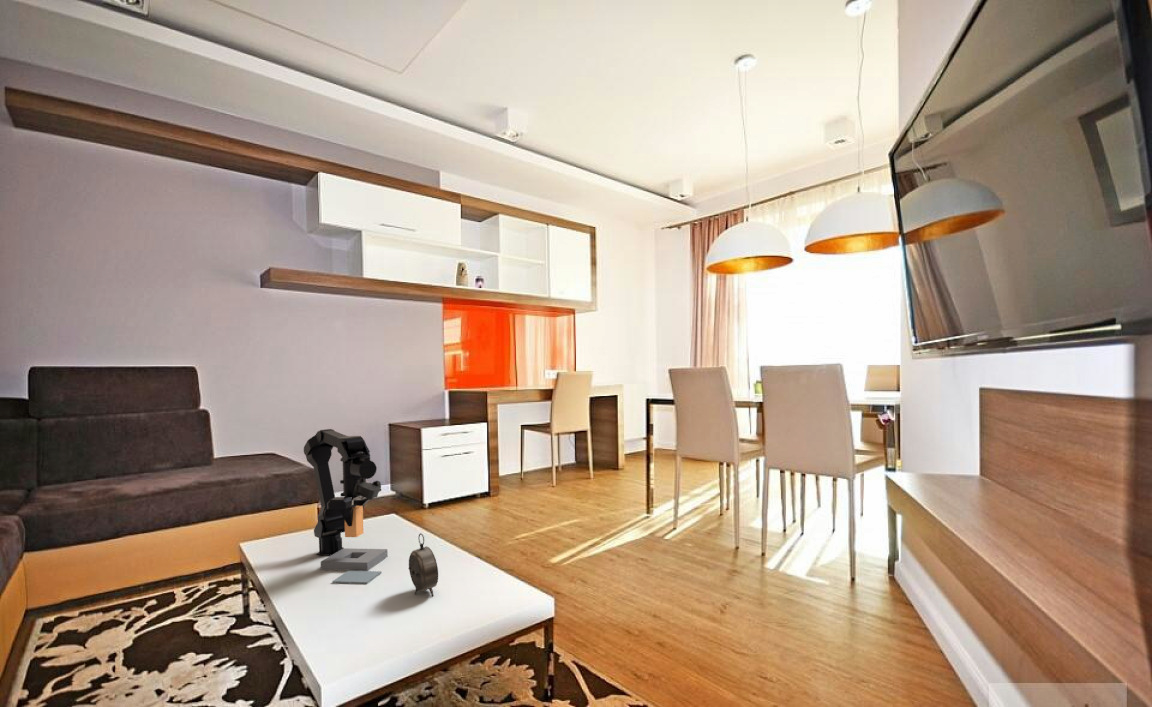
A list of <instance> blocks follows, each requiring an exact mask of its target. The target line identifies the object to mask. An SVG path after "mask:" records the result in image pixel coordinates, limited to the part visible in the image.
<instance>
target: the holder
mask: <svg viewBox="0 0 1152 707" xmlns="http://www.w3.org/2000/svg"><path fill="white" fill-rule="evenodd" d="M388 554H389V553H388V548H352V547H351V548H350V547H349V548H347V547H346V548H345V547H344V548H343V549H341V550H340V551H338V552H336V553H335V554H333V555H328V557H325V559H323V560H320V570H321V571H322V570H325V571H370V569H371V570H372V568H373V567H375V566H376V565H378V564H380V563H381V562H383V559H384V560H385V559H386V558H388Z"/></svg>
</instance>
